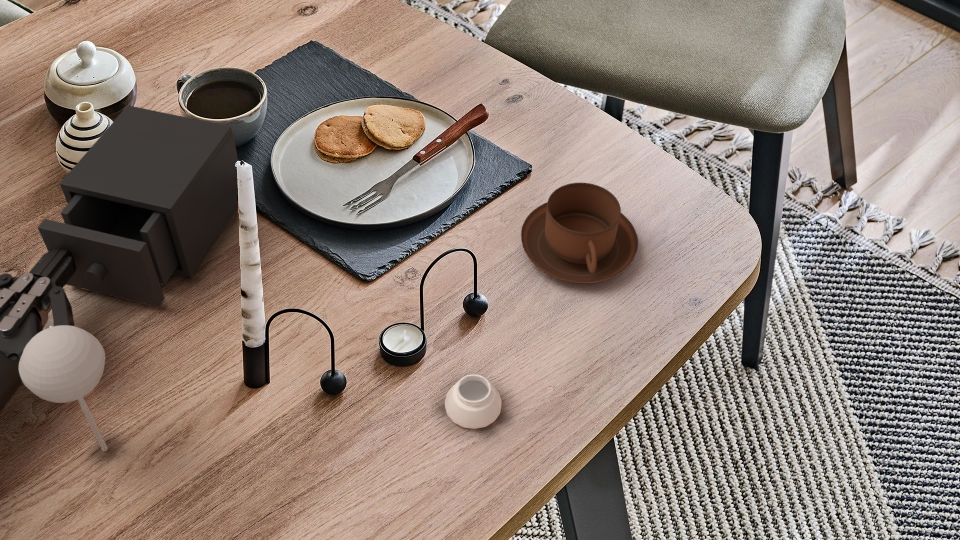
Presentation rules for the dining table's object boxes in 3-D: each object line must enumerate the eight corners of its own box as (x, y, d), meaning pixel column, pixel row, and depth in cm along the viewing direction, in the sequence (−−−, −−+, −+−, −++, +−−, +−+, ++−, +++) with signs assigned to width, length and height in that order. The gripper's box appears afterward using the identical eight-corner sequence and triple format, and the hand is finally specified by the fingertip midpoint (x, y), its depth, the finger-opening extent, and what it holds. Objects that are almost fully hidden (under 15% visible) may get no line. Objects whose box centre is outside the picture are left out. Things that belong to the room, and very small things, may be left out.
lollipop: (150, 421, 83) (104, 310, 72) (131, 480, 79) (80, 373, 68) (79, 418, 83) (23, 307, 72) (57, 478, 79) (-6, 370, 68)
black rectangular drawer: (152, 317, 90) (132, 260, 84) (55, 292, 91) (29, 236, 86) (213, 227, 98) (199, 170, 92) (123, 206, 100) (104, 149, 94)
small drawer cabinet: (191, 278, 94) (170, 208, 87) (87, 253, 96) (59, 183, 89) (246, 196, 102) (231, 126, 95) (149, 174, 104) (128, 105, 97)
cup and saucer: (658, 269, 97) (668, 227, 92) (557, 308, 93) (562, 266, 88) (595, 197, 104) (602, 154, 99) (499, 230, 100) (502, 187, 95)
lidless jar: (463, 376, 87) (434, 414, 84) (464, 356, 85) (434, 395, 82) (511, 400, 85) (482, 440, 82) (512, 380, 83) (483, 421, 80)
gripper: (2, 396, 73) (119, 241, 84) (-145, 356, 75) (-11, 211, 86) (34, 448, 78) (139, 296, 90) (-104, 409, 80) (16, 266, 92)
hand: (65, 254), depth 88 cm, fingers closed
